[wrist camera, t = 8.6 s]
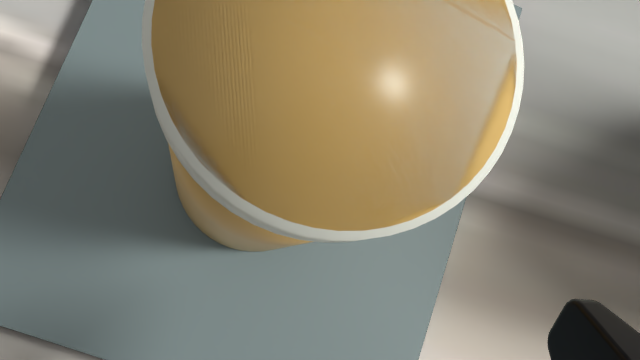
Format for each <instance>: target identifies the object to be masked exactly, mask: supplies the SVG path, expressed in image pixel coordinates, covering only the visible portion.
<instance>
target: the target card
mask: <svg viewBox="0 0 640 360" xmlns="http://www.w3.org/2000/svg"><path fill="white" fill-rule="evenodd" d="M144 4H145V0H93V1H92V3H91V5H90V7H89V9H88V11H87V14H86V16H85V18H84V20H83V22H82V24H81V26H80V29H79V31H78V33H77V35H76V37H75V39H74V42H73V44H72V46H71V48H70V50H69V52H68V54H67V57H66V59H65V61H64V63H63V65H62V67H61V70H60V72H59V74H58V76H57V78H56V80H55V82H54V85H53V87H52V89H51V91H50V93H49V95H48V98H47V100H46V102H45V104H44V106H43V108H42V110H41V113H40V115H39V117H38V119H37V121H36V123H35V126H34V128H33V130H32V132H31V134H30V136H29V138H28V141H27V143H26V145H25V147H24V149H23V151H22V154H21V156H20V158H19V160H18V162H17V164H16V166H15V169H14V171H13V173H12V175H11V177H10V179H9V182H8V184H7V186H6V188H5V190H4V192H3V194H2V197H1V199H0V326H3V327H6V328H9V329H12V330H15V331H18V332H21V333H24V334H27V335H31V336H34V337H37V338H40V339H43V340H46V341H49V342H52V343H55V344H58V345H61V346H65V347H68V348H71V349H74V350H77V351H80V352H83V353H86V354H89V355H92V356H95V357H99V358H102V359H105V360H418V359H419V356H420V352H421V349H422V346H423V342H424V339H425V335H426V332H427V329H428V325H429V322H430V319H431V315H432V312H433V308H434V305H435V302H436V298H437V295H438V291H439V288H440V285H441V281H442V278H443V275H444V271H445V268H446V264H447V261H448V258H449V254H450V251H451V248H452V244H453V241H454V237H455V234H456V231H457V227H458V224H459V220H460V217H461V214H462V210H463V207H464V204H465V200H466V197H467V196H466V197H465V198H464V199H463V200H462V201H461V202H460V203H458V204H457V205H456V206H454V207H453V208H451V209H450V210H448V211H447V212H445V213H444V214H442V215H440V216H439V217H437V218H436V219H434V220H431V221H429V222H427V223H425V224H423V225H420V226H418V227H416V228H414V229H411V230H407V231H404V232H401V233H397V234H394V235H391V236H385V237H378V238H372V239H365V240H359V241H352V242H334V243H322V242H310V243H305V244H300V245H295V246H289V247H284V248H279V249H274V250H268V251H262V252H250V251H241V250H237V249H233V248H229V247H227V246H224V245H222V244H220V243H218V242H216V241H214V240H213V239H211V238H210V237H208V236H207V235H206V234H204V233H203V232H202V231H201V230H200V229H199V228H198V227H197V226H196V225H195V224H194V223H193V222H192V220H191V219H190V218H189V216H188V215H187V213H186V211H185V210H184V208H183V206H182V203H181V201H180V199H179V195H178V192H177V188H176V183H175V177H174V172H173V167H172V161H171V156H170V151H169V145H168V142H167V140H166V138H165V136H164V133H163V131H162V128H161V126H160V124H159V121H158V119H157V116H156V113H155V109H154V106H153V102H152V98H151V94H150V90H149V86H148V82H147V78H146V73H145V67H144V59H143V51H142V16H143V10H144ZM513 5H514V4H513ZM514 8H515V11H516V14H517V17H518V21H519V18H520V14H521V11H522V8H520V7H518V6H516V5H514Z"/></svg>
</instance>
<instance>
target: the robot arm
mask: <svg viewBox="0 0 640 360" xmlns="http://www.w3.org/2000/svg"><path fill="white" fill-rule="evenodd" d="M548 350H549V354H550V358H551V360H640V333H638V332H637V331H636V330H634V329H633V328H632V327H631V326H629V325H628V324H627V323H625V322H624V321H623V320H622V319H620V318H619V317H618V316H616V315H615V314H614V313H612V312H611V311H610V310H609V309H607V308H606V307H605V306H603V305H602V304H601V303H599V302H597V301H594V300H584V299H572V300H570V301H569V302H567V303H566V305H565V306H564V308H563V310H562V311H561V313H560V315H559V316H558V318H557V320H556V322H555V323H554V325H553V327H552V328H551V330H550V332H549V335H548Z"/></svg>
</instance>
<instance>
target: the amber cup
mask: <svg viewBox="0 0 640 360" xmlns="http://www.w3.org/2000/svg"><path fill="white" fill-rule="evenodd" d="M142 51H143V59H144V67H145V73H146V78H147V82H148V86H149V90H150V94H151V98H152V102H153V106H154V109H155V113H156V116H157V119H158V121H159V124H160V126H161V128H162V131H163V133H164V136H165V138H166V140H167V142H168V145H169V151H170V156H171V161H172V167H173V172H174V177H175V183H176V188H177V192H178V195H179V199H180V201H181V203H182V206H183V208H184V210H185V211H186V213H187V215H188V216H189V218H190V219H191V220H192V222H193V223H194V224H195V225H196V226H197V227H198V228H199V229H200V230H201V231H202V232H203V233H204V234H206V235H207V236H208V237H210V238H211V239H213V240H214V241H216V242H218V243H220V244H222V245H224V246H227V247H229V248H233V249H237V250H241V251H250V252H262V251H268V250H274V249H279V248H284V247H289V246H295V245H300V244H305V243H310V242H322V243H334V242H352V241H359V240H365V239H372V238H378V237H385V236H391V235H394V234H397V233H401V232H404V231H407V230H411V229H414V228H416V227H418V226H420V225H423V224H425V223H427V222H429V221H431V220H434V219H436V218H437V217H439V216H440V215H442V214H444V213H445V212H447V211H448V210H450V209H451V208H453V207H454V206H456V205H457V204H458V203H460V202H461V201H462V200H463V199H464V198H465V197H466V196H468V195H469V194H470V193H471V192H472V191H473V190H474V189H475V188H476V187H477V186H478V185H479V184H480V183H481V181H482V180H483V179H484V178H485V177H486V176H487V175H488V173H489V172H490V171H491V169H492V168H493V166H494V165H495V163H496V162H497V160H498V158H499V157H500V155H501V154H502V152H503V150H504V148H505V146H506V144H507V142H508V139H509V137H510V135H511V133H512V130H513V127H514V124H515V121H516V118H517V115H518V112H519V107H520V102H521V96H522V91H523V78H524V55H523V42H522V36H521V31H520V26H519V21H518V17H517V14H516V11H515V8H514V5H513V2H512V0H145V4H144V10H143V16H142Z"/></svg>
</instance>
